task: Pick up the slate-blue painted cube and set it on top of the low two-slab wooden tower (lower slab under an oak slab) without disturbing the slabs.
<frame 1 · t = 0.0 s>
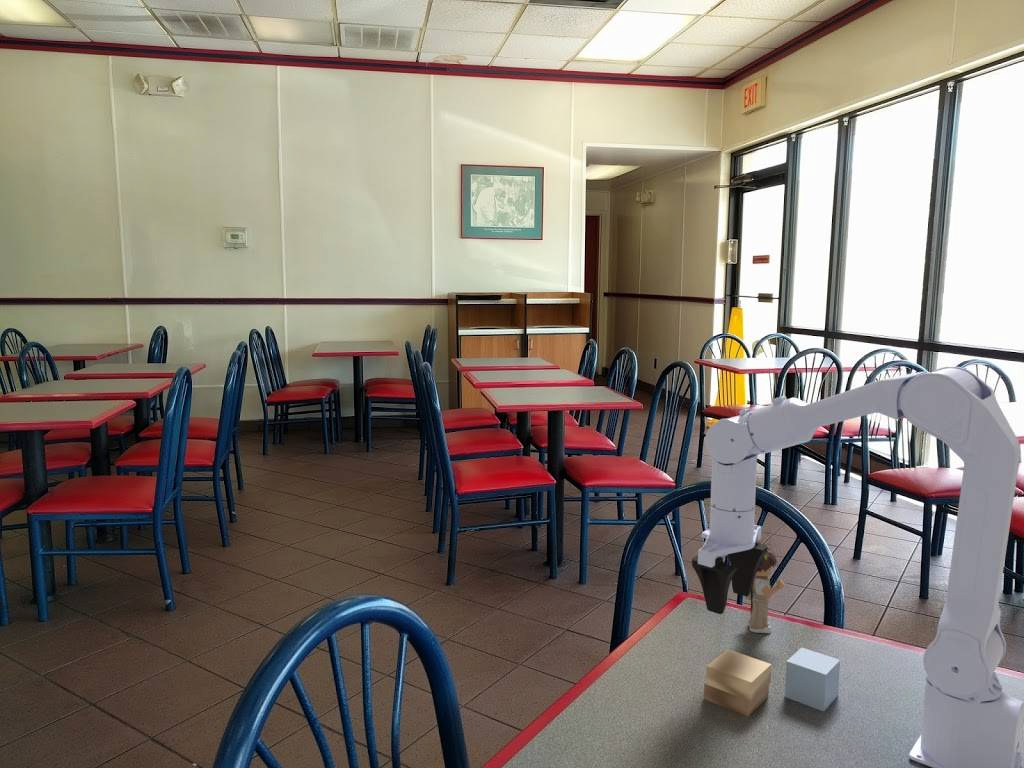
hand: (728, 602, 101), 10 cm above the table, fingers open, 7 cm apart
cube: (811, 696, 97), on the table
lower slab: (736, 700, 96), on the table, touching upper slab
toy: (761, 630, 116), on the table
upper slab: (738, 683, 96), point 2 cm above the table, touching lower slab
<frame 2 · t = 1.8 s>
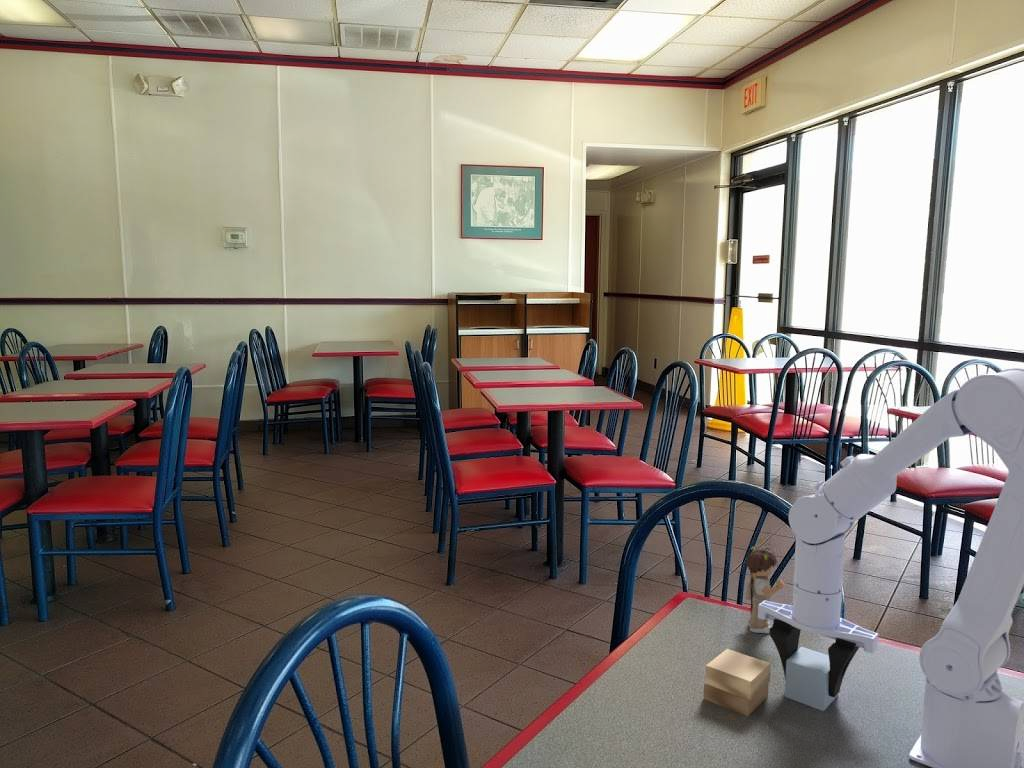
hand: (811, 685, 96), 1 cm above the table, fingers closed on cube, 5 cm apart
cube: (811, 696, 97), on the table, touching gripper
everything else where it was.
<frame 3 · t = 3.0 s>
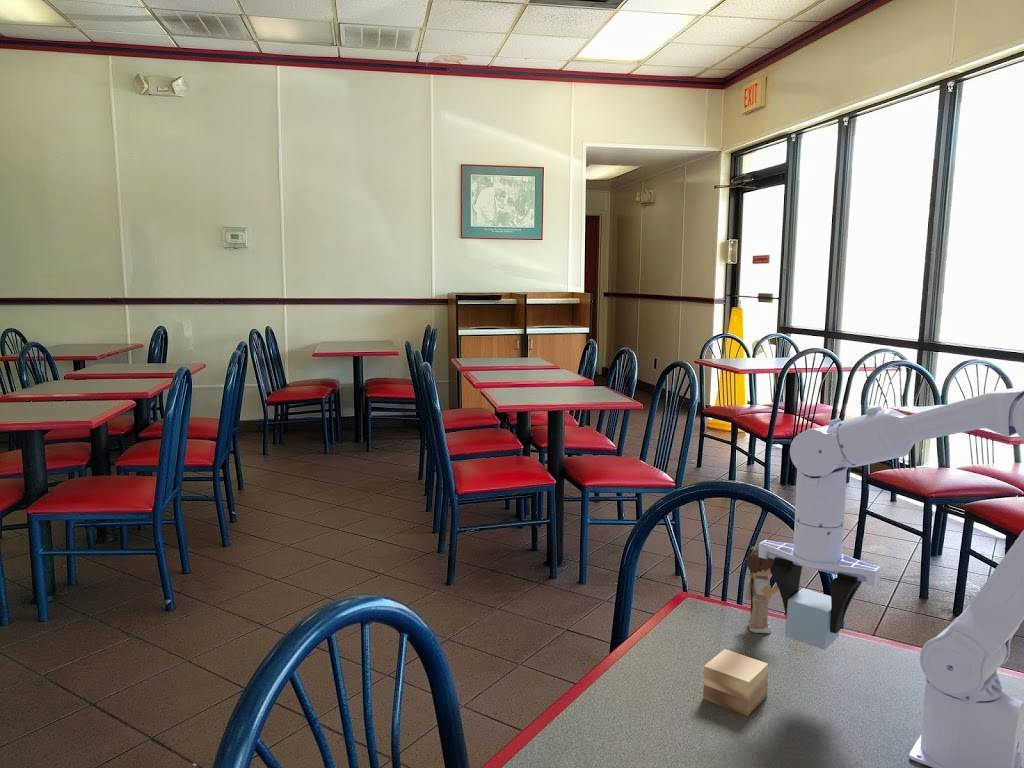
hand: (813, 623, 95), 10 cm above the table, fingers closed on cube, 5 cm apart
cube: (812, 636, 96), point 8 cm above the table, touching gripper
everything else where it was.
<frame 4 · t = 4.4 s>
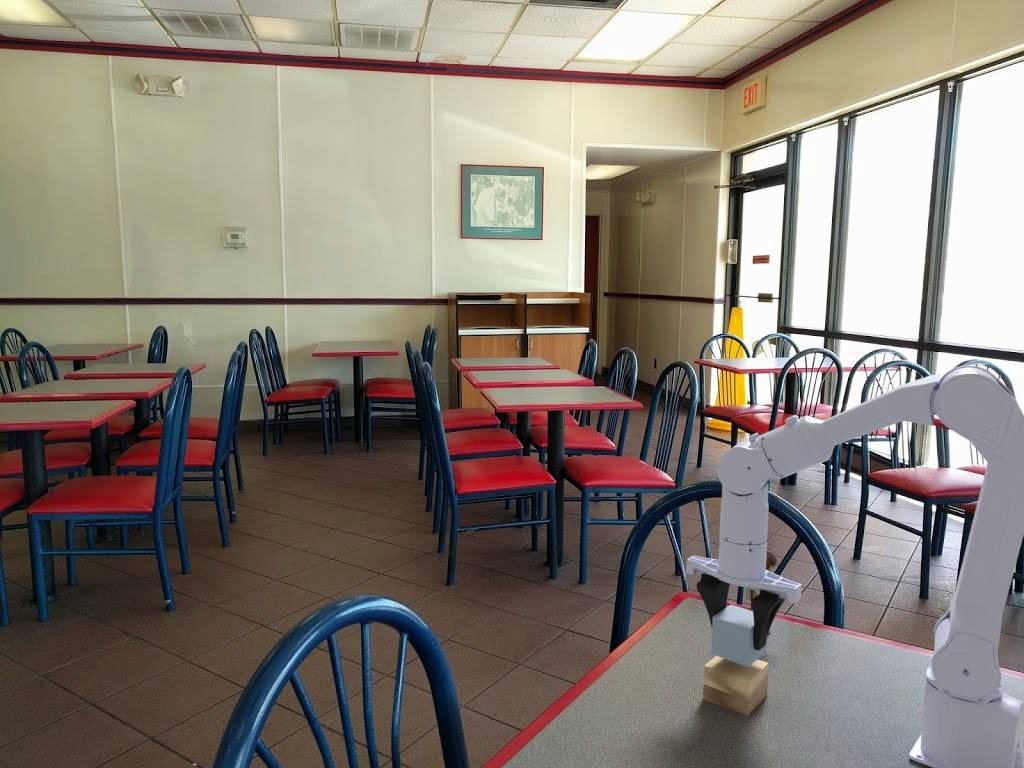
hand: (738, 640, 95), 8 cm above the table, fingers closed on cube, 5 cm apart
cube: (738, 653, 95), point 6 cm above the table, touching gripper
everything else where it was.
when the fingers open (8 cm above the table, at t = 4.5 s): cube drops 1 cm, resting on upper slab.
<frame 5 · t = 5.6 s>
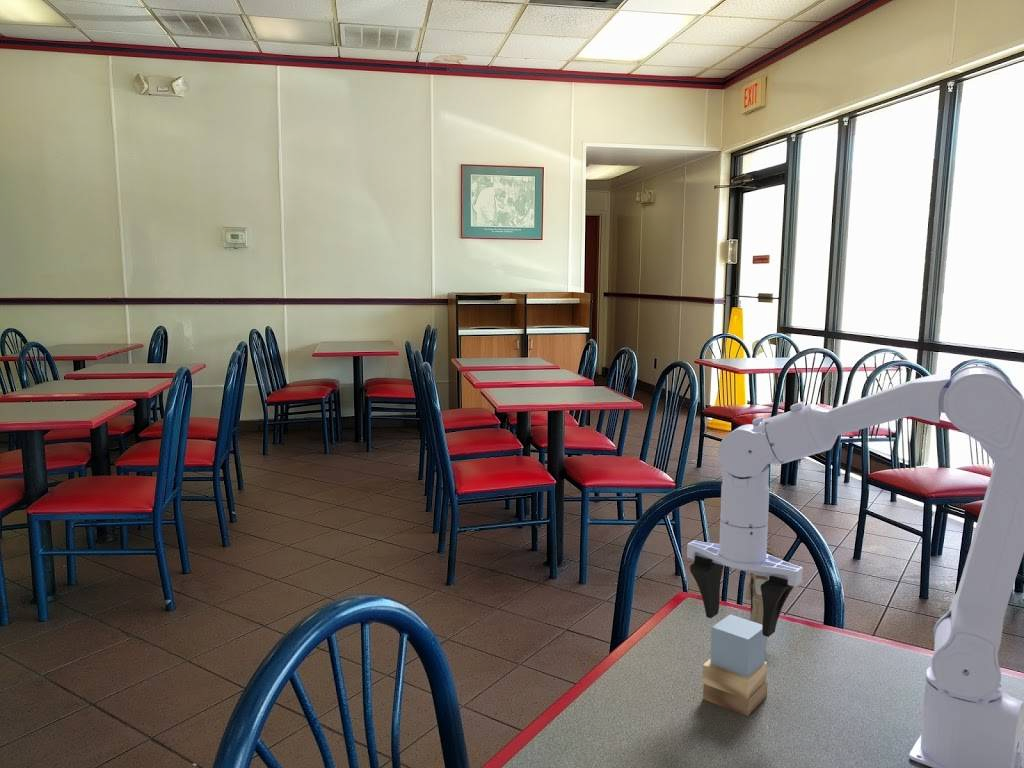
hand: (739, 624, 95), 10 cm above the table, fingers open, 7 cm apart
cube: (737, 663, 96), point 5 cm above the table, touching upper slab
upper slab: (734, 681, 96), point 2 cm above the table, touching cube, lower slab
everything else where it was.
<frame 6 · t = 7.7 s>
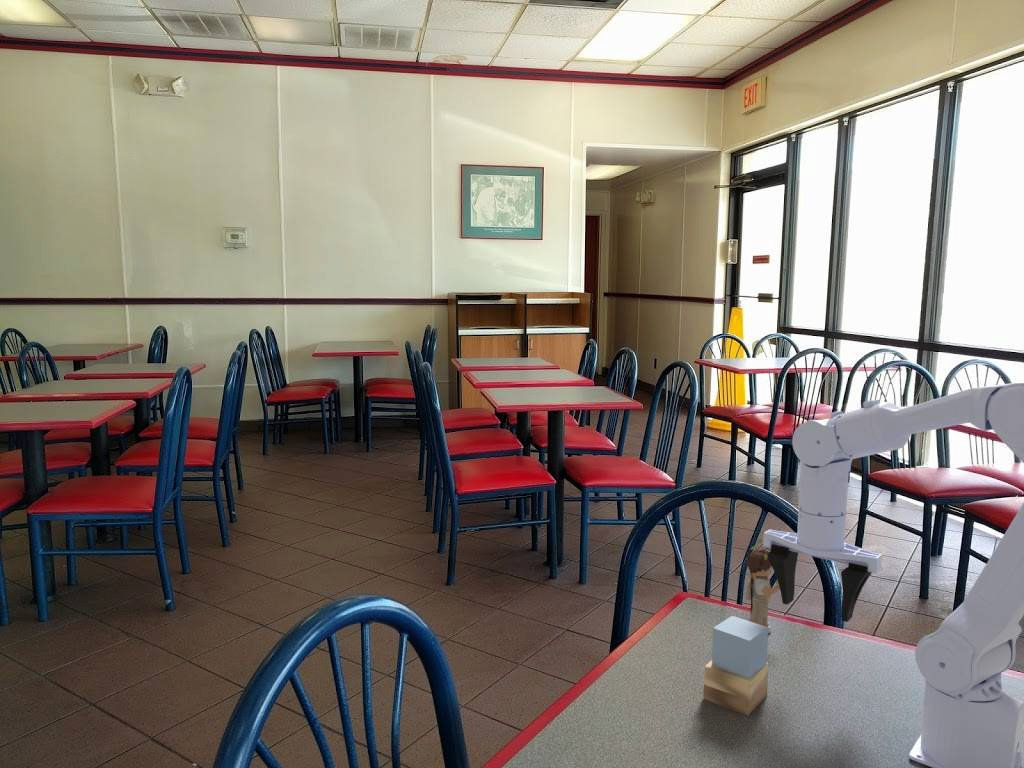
hand: (816, 610, 98), 10 cm above the table, fingers open, 7 cm apart
cube: (739, 664, 95), point 5 cm above the table
upper slab: (736, 682, 96), point 2 cm above the table, touching lower slab
everything else where it was.
at the end: cube 0.4 cm off-centre on the lower slab, point 5.0 cm above the lower slab's base; cube tilted 0°; upper slab moved 0.5 cm from its start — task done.
